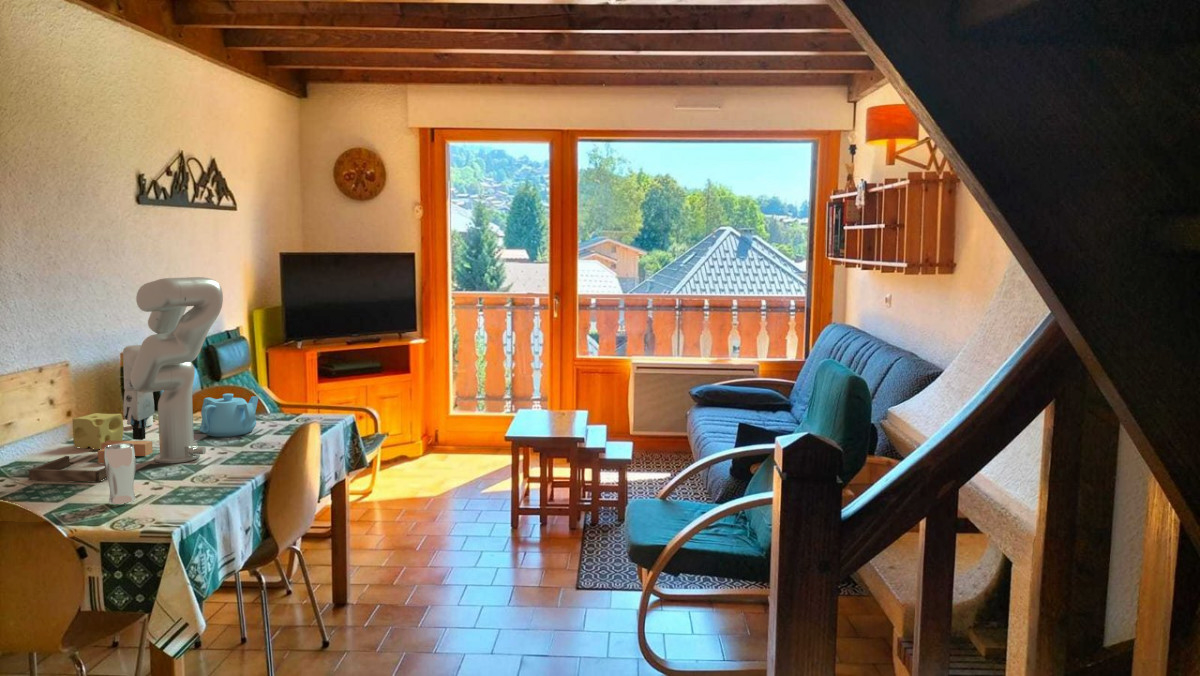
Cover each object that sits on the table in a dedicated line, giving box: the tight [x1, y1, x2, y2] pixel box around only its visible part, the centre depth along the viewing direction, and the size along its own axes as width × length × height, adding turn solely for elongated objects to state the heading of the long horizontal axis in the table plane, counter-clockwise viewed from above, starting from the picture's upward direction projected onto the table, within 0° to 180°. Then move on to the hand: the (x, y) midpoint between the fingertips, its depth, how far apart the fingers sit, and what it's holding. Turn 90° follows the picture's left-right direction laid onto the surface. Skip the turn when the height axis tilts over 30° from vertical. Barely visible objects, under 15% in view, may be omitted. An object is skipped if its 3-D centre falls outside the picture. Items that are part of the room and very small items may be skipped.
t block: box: [97, 440, 154, 464], centre depth 255 cm, size 14×13×4 cm
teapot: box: [199, 393, 259, 438], centre depth 291 cm, size 19×19×14 cm
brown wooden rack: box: [28, 455, 107, 482], centre depth 238 cm, size 20×16×3 cm
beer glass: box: [103, 443, 137, 505], centre depth 212 cm, size 7×7×15 cm
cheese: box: [72, 412, 124, 450], centre depth 270 cm, size 10×11×10 cm
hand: (139, 439), depth 267 cm, fingers closed
